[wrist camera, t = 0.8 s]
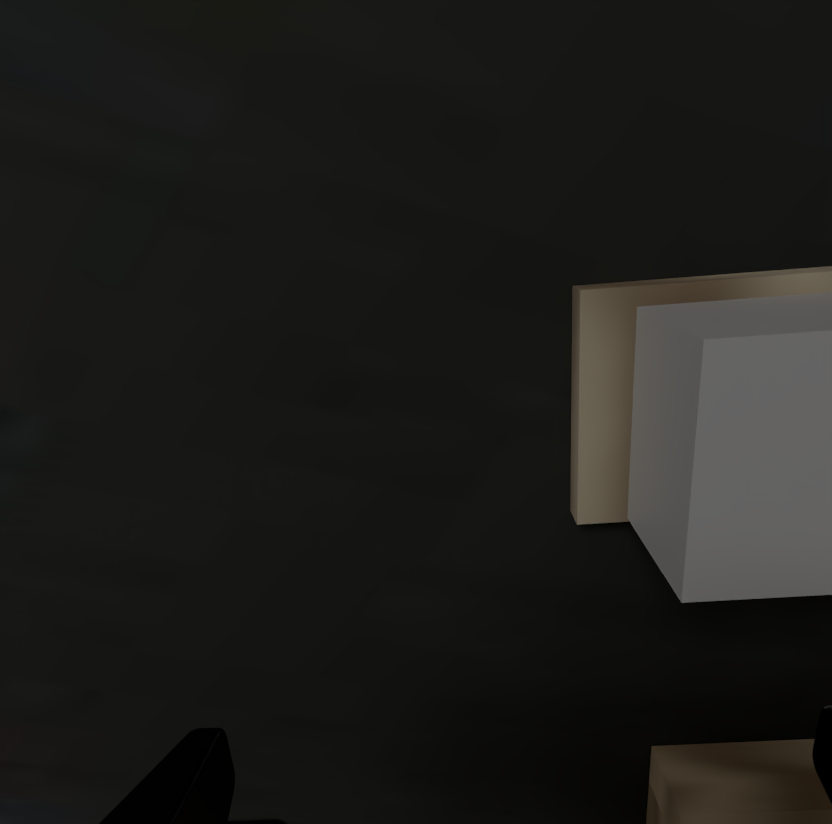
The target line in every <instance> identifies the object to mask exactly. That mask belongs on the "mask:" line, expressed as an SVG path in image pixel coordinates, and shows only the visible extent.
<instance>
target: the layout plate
mask: <svg viewBox="0 0 832 824" xmlns="http://www.w3.org/2000/svg"><path fill="white" fill-rule="evenodd" d="M826 292H832V266H827V267H814V268H801V269H788V270H775V271H762V272H749V273H736V274H723V275H710V276H697V277H684V278H671V279H658V280H645V281H632V282H618V283H605V284H592V285H579V286H573V296H572V401H571V506H570V510H571V513H572V515H573V517H574V519H575V521H576V523H577V525H579V524H596V523H613V522H629V520H628V518H627V515H628V493H629V472H630V450H631V428H632V406H633V384H634V363H635V341H636V319H637V307H639V306H652V305H666V304H679V303H692V302H706V301H719V300H732V299H746V298H759V297H773V296H786V295H799V294H813V293H826Z"/></svg>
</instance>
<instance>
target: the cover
mask: <svg viewBox="0 0 832 824" xmlns="http://www.w3.org/2000/svg"><path fill="white" fill-rule="evenodd" d="M627 518H628V520H629V521H630V523H631V524H632V526H633V528H634V529H635V531H636V532H637V534H638V535H639V537H640V538H641V540H642V542H643V543H644V545H645V546H646V548H647V549H648V551H649V553H650V554H651V556H652V557H653V559H654V560H655V562H656V564H657V565H658V567H659V568H660V570H661V571H662V573H663V574H664V576H665V578H666V579H667V581H668V582H669V584H670V585H671V587H672V589H673V590H674V592H675V593H676V595H677V596H678V598H679V600H680V601H681V603H686V602H705V601H723V600H742V599H760V598H778V597H797V596H815V595H832V292H826V293H813V294H799V295H786V296H773V297H759V298H746V299H732V300H719V301H706V302H692V303H679V304H666V305H652V306H639V307H637V319H636V341H635V363H634V384H633V406H632V428H631V450H630V472H629V493H628V515H627Z"/></svg>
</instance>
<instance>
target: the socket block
mask: <svg viewBox="0 0 832 824" xmlns="http://www.w3.org/2000/svg"><path fill="white" fill-rule="evenodd" d="M814 740H815V739H800V740H778V741H755V742H733V743H710V744H688V745H665V746H652V748H651V762H650V776H649V790H648V804H647V818H646V824H832V804H831V802H830V800H829V798H828V796H827V794H826V791H825V789H824V787H823V785H822V783H821V781H820V779H819V777H818V775H817V772H816V770H815V767H814V763H813V758H812V750H813V745H814Z"/></svg>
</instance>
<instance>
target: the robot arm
mask: <svg viewBox="0 0 832 824" xmlns="http://www.w3.org/2000/svg"><path fill="white" fill-rule="evenodd" d="M812 758H813V763H814V767H815V770H816V772H817V775H818V777H819V779H820V781H821V783H822V785H823V787H824V789H825V791H826V794H827V796H828V798H829V800H830V802H831V804H832V706H826V707H825V708H824V709H823V710H822V711H821V713H820V716H819V721H818V726H817V731H816V735H815V740H814V745H813V750H812ZM234 785H235V772H234V767H233V762H232V758H231V753H230V749H229V745H228V740H227V736H226V733H225V731H224V730H223V729H221V728H199V729H195V730H193V731H191V732H190V733H188V734H187V735H186V736H185V737H184V738H183V739H182V740H181V741H180V742H179V743H178V744H177V745H176V746H175V747H174V748H173V749H172V750H171V751H170V752H169V753H168V755H167V756H166V757H165V758H164V759H163V760H162V761H161V762H160V763H159V764H158V765H157V766H156V767H155V768H154V769H153V770H152V771H151V772H150V773H149V774H148V775H147V776H146V777H145V778H144V779H143V780H142V781H141V782H140V783H139V784H138V785H137V786H136V787H135V788H134V789H133V790H132V791H131V792H130V793H129V794H128V795H127V796H126V797H125V798H124V799H123V800H122V801H121V802H120V803H119V804H118V805H117V806H116V807H115V808H114V809H113V810H112V811H111V812H110V813H109V814H108V815H107V816H106V817H105V818H104V819H103V820H102V821H101V822H100V823H99V824H280V823H278V822H274V821H266V822H241V823H227V821H228V816H229V812H230V807H231V802H232V797H233V792H234Z"/></svg>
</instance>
